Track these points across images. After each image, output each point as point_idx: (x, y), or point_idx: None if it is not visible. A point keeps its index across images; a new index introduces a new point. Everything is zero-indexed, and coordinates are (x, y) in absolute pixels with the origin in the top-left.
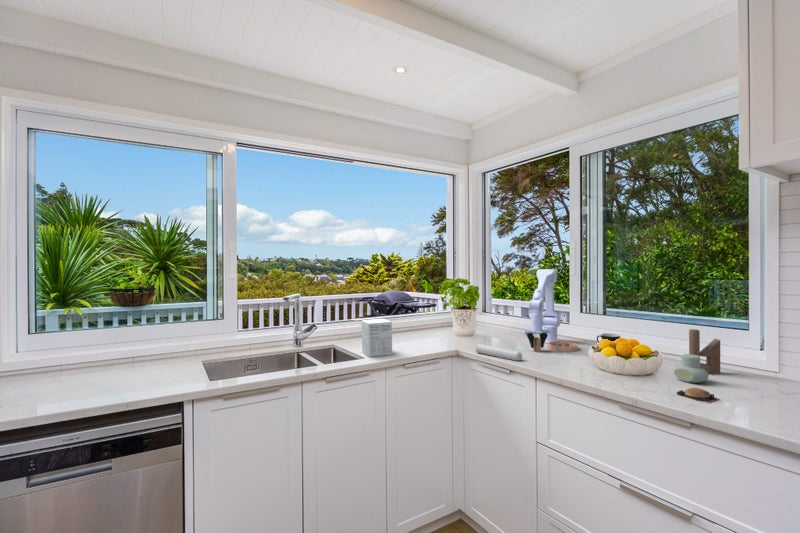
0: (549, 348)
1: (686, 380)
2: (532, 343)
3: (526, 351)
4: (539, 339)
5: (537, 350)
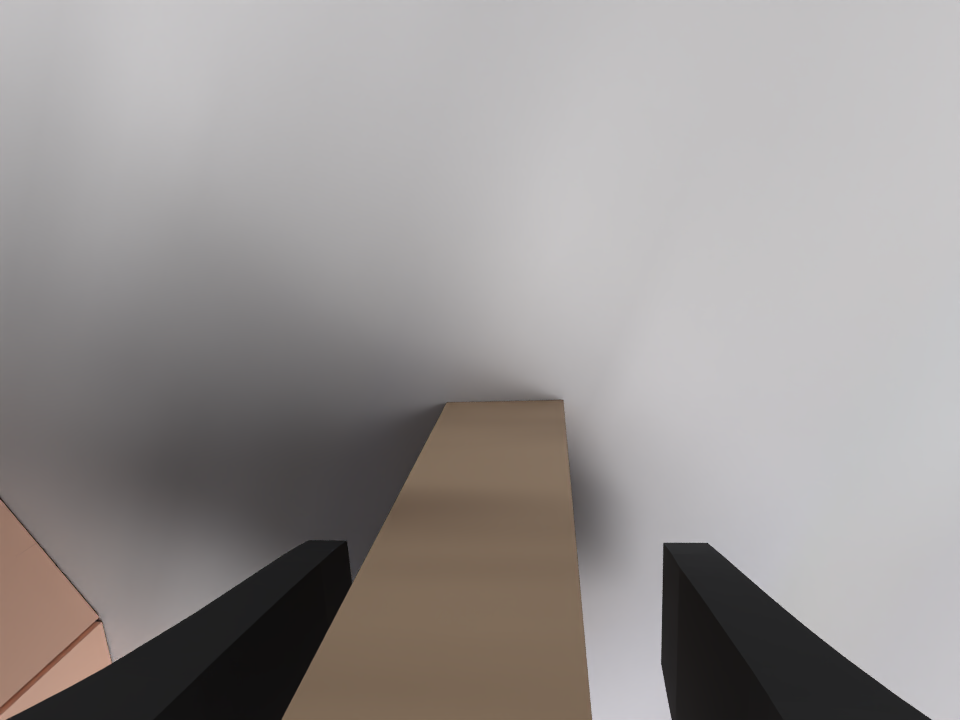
0: None
1: None
2: (801, 636)
3: (847, 541)
4: None
5: (555, 418)
